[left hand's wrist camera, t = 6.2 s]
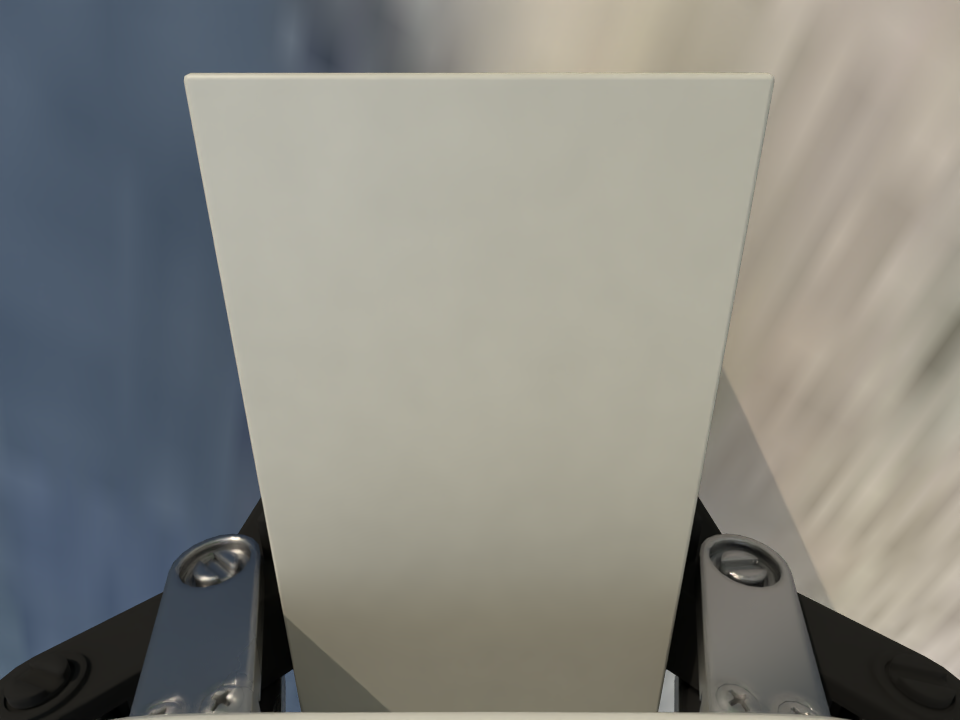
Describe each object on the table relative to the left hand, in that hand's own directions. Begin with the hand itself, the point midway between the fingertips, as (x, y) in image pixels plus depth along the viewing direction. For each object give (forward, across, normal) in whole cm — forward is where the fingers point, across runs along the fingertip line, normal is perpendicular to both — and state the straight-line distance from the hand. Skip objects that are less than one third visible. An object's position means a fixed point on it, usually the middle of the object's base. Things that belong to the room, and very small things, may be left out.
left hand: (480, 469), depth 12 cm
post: (+2, 0, -29) cm, 29 cm away
